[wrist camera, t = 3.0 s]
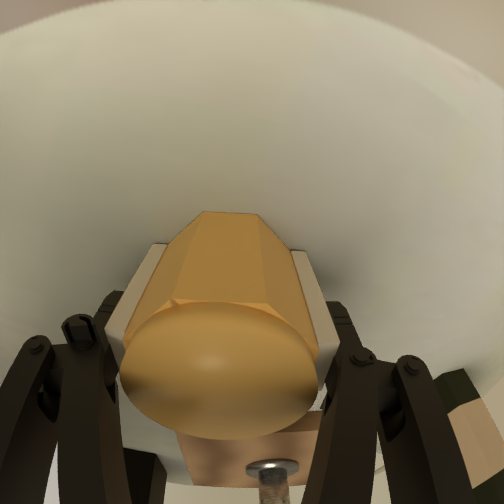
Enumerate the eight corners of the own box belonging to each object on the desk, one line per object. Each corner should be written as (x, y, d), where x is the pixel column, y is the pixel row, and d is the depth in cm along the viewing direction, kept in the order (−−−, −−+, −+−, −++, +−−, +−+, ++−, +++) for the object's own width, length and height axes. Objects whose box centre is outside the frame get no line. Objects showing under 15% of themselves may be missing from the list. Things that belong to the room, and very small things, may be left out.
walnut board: (194, 472, 29) (194, 485, 28) (177, 408, 21) (174, 427, 19) (327, 470, 30) (329, 481, 29) (377, 404, 22) (383, 420, 20)
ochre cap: (173, 312, 16) (142, 430, 9) (166, 210, 14) (96, 314, 6) (279, 317, 17) (298, 439, 10) (294, 216, 14) (342, 327, 7)
